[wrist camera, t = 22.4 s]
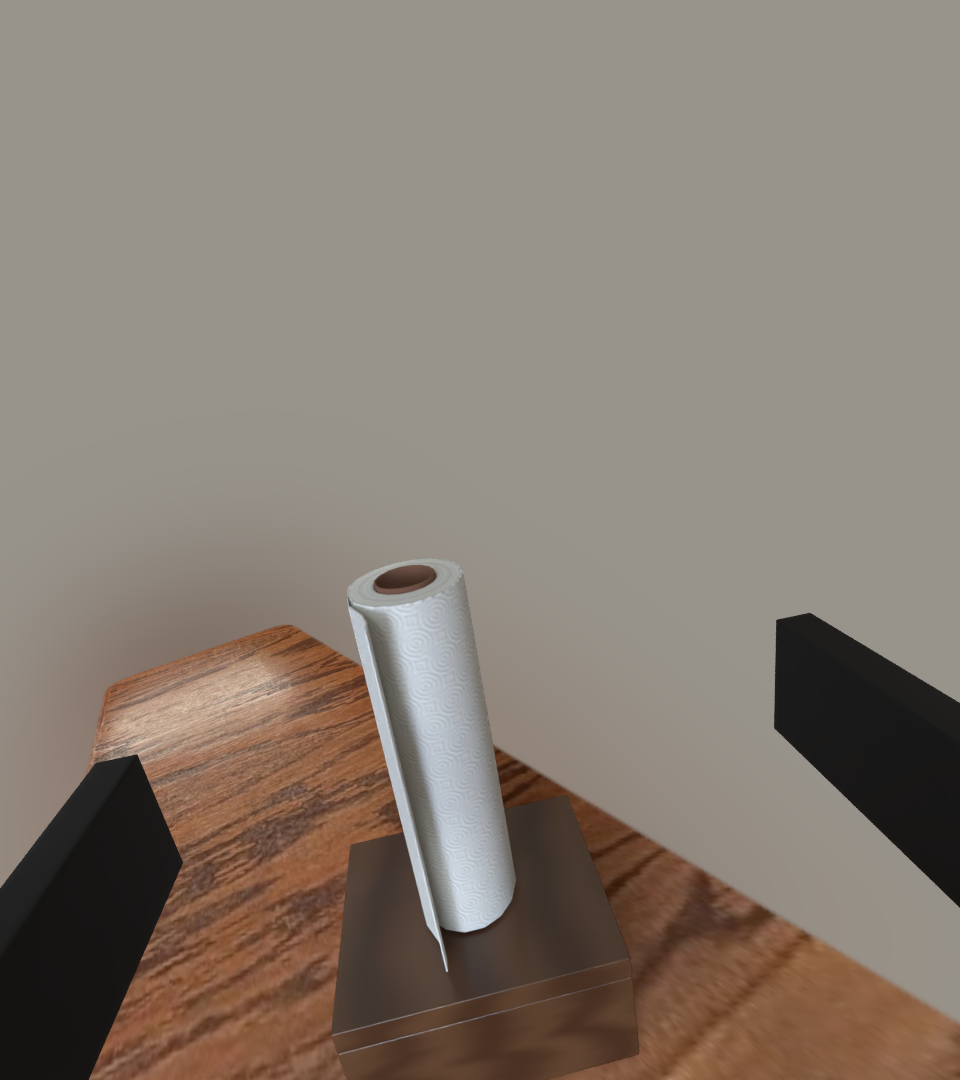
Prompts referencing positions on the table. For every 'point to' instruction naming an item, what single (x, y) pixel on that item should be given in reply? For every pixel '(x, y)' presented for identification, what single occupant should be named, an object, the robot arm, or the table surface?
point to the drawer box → (484, 967)
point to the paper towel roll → (436, 738)
